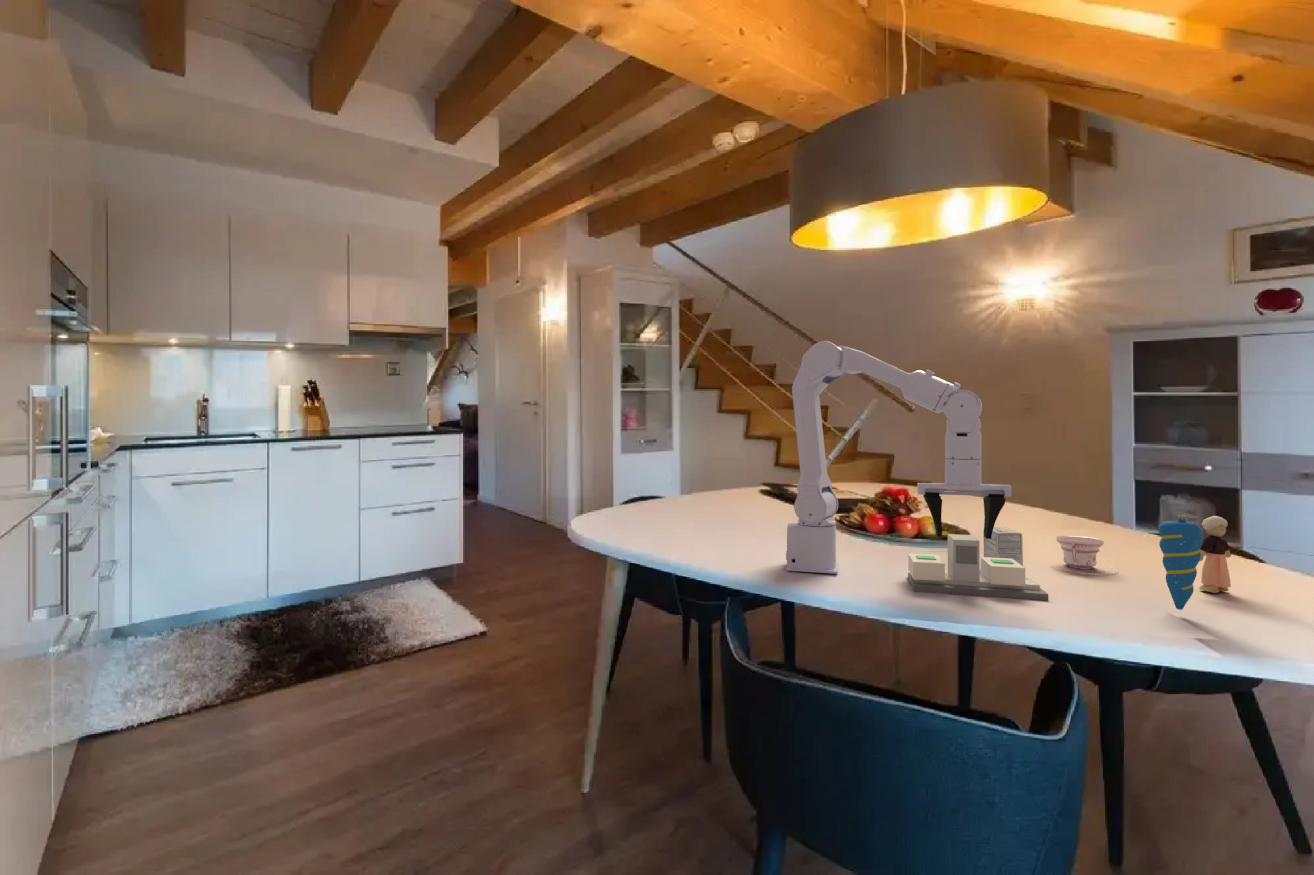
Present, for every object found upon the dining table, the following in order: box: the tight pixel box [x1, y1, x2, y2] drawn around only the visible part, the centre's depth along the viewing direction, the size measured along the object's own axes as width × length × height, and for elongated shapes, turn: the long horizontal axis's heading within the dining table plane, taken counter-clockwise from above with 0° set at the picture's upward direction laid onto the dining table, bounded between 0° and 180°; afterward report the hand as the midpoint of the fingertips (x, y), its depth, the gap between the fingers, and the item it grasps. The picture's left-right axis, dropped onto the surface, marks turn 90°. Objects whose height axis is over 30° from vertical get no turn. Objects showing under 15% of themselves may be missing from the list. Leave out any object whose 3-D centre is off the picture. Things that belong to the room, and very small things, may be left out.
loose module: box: [947, 533, 981, 582], centre depth 104 cm, size 4×6×7 cm, turn 163°
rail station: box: [907, 552, 1049, 601], centre depth 104 cm, size 20×10×5 cm, turn 73°
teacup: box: [1051, 535, 1119, 576], centre depth 119 cm, size 12×12×6 cm
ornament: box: [1157, 510, 1204, 611], centre depth 91 cm, size 5×5×15 cm
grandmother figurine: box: [1198, 515, 1232, 593], centre depth 103 cm, size 8×4×13 cm, turn 117°
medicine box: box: [983, 526, 1024, 567], centre depth 114 cm, size 8×4×9 cm, turn 168°
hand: (963, 536), depth 105 cm, fingers open, 7 cm apart
